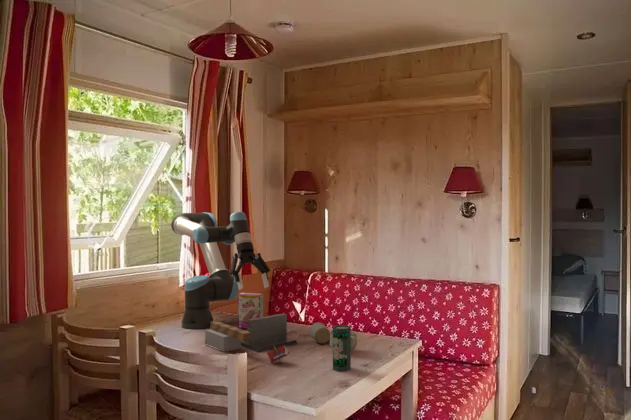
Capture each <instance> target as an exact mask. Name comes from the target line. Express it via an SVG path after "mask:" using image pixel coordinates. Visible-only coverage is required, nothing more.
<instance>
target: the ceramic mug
mask: <svg viewBox="0 0 631 420" xmlns="http://www.w3.org/2000/svg"><path fill="white" fill-rule="evenodd" d="M330 331H331V330H329V328H328V327H327V326H326V325H325V324H324V323H323V322H315V323H313V324H312V325H311V326H310V327H309V335H310V337H311V339H313V340H314V341H315V343H317V344H320V345H323V344H327V343H328V342H330Z"/></svg>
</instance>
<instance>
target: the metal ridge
mask: <svg viewBox="0 0 631 420" xmlns="http://www.w3.org/2000/svg"><path fill="white" fill-rule="evenodd" d="M287 316H288V315H287V313H279V314H278V313H277V314H272V315H267V316H266V315H265V316H263V317H260V318H254V319H248V329H247V331H248V332H251V340H249V341H241V348H242V347H243V348H245V349H247V350H250V351H253V352H255V353H261V352H264V351H271V350H272V349H273V350H275V348H274V346H273V345H275V347H276V349H277V348H279V347H281V346H282V345H284V346H285V347H286V346H292V345H296V344H298V339H295V338H292V337H288V336H287V335H288V333H287V331H288V326H287V324H288V323H287V321H288V320H287V319H288V317H287ZM272 346H273V347H272Z"/></svg>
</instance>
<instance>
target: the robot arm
mask: <svg viewBox="0 0 631 420" xmlns="http://www.w3.org/2000/svg"><path fill="white" fill-rule="evenodd" d="M229 221H230V223H229V224H228V225H226V226H224V225H223V226H221V225H220V226H218V224H217V223H218V222H217V219H216V217H215V215H214V214H213V213H211V212H206V211H205V212H204V211H203V212H183V213H179V214H177V215H176V216H174V217H173V219H172V220H171V224H170V227H171V230H172V231H173V233H175V234H177V235H178V236H186V237H189V238H192V239H193V241H194V243H196V244H199V247H200V251H201V253H202V256H203V260H204V262H205V265H206V267H207V271H208V273H209V275H196V276H192V277H189V278H187V279H186V280H185V282H184V312H183V315H182V319H181V321H180V323H181V324H180V325H181V326H180V327H182V328H183V329H191V330H192V329H194V330H195V329H206V328H210V322H214V317H213V315H212V311H211V309H210V305H211V304H210V303H214V302H224V301H227V302H228V301H229V300H230V301H231V300H234V299H236V298H238V294H239V291H241V290H243V289H244V285H243V277H242V274H241V273H240V272H241V270H242V268H243V266H244V265H246V264H247V265H252V266H253V267H255V268H256V269H257V270H258V271H259V272H260V273H261V274H260V275H261V279H262V284H263V287H264V289H267V288H268V287H270V284H269V276H268V273H269V272H271V269H270V267H269V266H268V265H267V263H266V261H265V260H264V259H263V257H262V254H261V253H260V252H258V253H255V249H254V243H253V242H252V241H253V240H252V236H251V232H250V227H249V223H248V219H247V216H246V213H245V212H244V211H236V212H232V213H231V214H230V216H229ZM218 243H223V244H224V245H227V246H230V245H233V244H234V243H235V244H234V245H235V246H236V252H235V253H234V254H233V255H232V261H231V262H232V263H231V267H230V270H229V269H227V268H226V264H225V262H224V259H223V257H222V255H221V252H220V248H219V245H218ZM238 260H239V262H238ZM237 263H238V265H237Z"/></svg>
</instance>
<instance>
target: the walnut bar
mask: <svg viewBox="0 0 631 420" xmlns="http://www.w3.org/2000/svg"><path fill="white" fill-rule="evenodd" d="M209 329H211V330H214V331H217V332H219V333H222V334H225V335H228V336H230V337H233V338H236V339H239V340H241V341H249V340H251V332H248V330H246V329H239V328H238V327H236V326H232V325H230V324H227V323H223V322H220V321H219V320H216V321H215V320H213V322H210V327H209Z"/></svg>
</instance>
